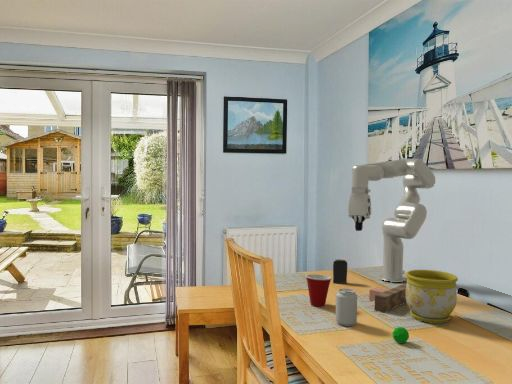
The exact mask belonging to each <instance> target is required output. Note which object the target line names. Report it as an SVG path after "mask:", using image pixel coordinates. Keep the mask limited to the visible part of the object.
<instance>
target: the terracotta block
mask: <svg viewBox="0 0 512 384" xmlns="http://www.w3.org/2000/svg"><path fill="white" fill-rule="evenodd" d="M387 290H389V289H387V288H383V287H377V286H376V287H373V288H370V289H369V290H368V291H369V294H368V295H369V296H368V298H369V299H368V301H369V300H370V301H369V302H372V301H375V295H377V294H380V293H382V292H385V291H387Z"/></svg>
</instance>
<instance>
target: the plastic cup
mask: <svg viewBox="0 0 512 384" xmlns="http://www.w3.org/2000/svg"><path fill="white" fill-rule="evenodd" d="M304 276H305V278H306V283H307V288H308V297H309V303H310V305H311V306H313V307H317V308H321V307H324V306H326V302H327V297H328V292H329V288H330V284H331V280H333V276H332V277H331V276H330V275H325V274H315V273H314V274H313V273H311V274H305V275H304Z"/></svg>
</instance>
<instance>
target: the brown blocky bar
mask: <svg viewBox="0 0 512 384" xmlns="http://www.w3.org/2000/svg"><path fill="white" fill-rule="evenodd" d="M406 285H407V282H404V283H403V284H401V285H399V286H395V287H392V288H391V289H388V290H387V291H385V292H382V293H380V294H377V295H375V302H374V311H375V310H376V311H375V312H379V311H380V312H379V313H383V312H385V313H387V312H388V311H387V310H389V311H391V310H393V309H395V308H397V307H399V306H398V305H400V304H402V305H404V304H405V303H406V304H407V301H406ZM403 303H404V304H403ZM396 306H397V307H396ZM400 306H401V305H400ZM394 307H395V308H394ZM392 308H393V309H392ZM390 309H391V310H390ZM386 311H387V312H386Z"/></svg>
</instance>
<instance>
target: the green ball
mask: <svg viewBox="0 0 512 384" xmlns="http://www.w3.org/2000/svg"><path fill="white" fill-rule="evenodd" d="M392 338H393V340H394V342H396V343H398V344H404V343H407V342H408V339H410V334H409V331H408V330H407V329H406V328H405V327H403V326H398V327H395V329H394V330H393V331H392Z"/></svg>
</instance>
